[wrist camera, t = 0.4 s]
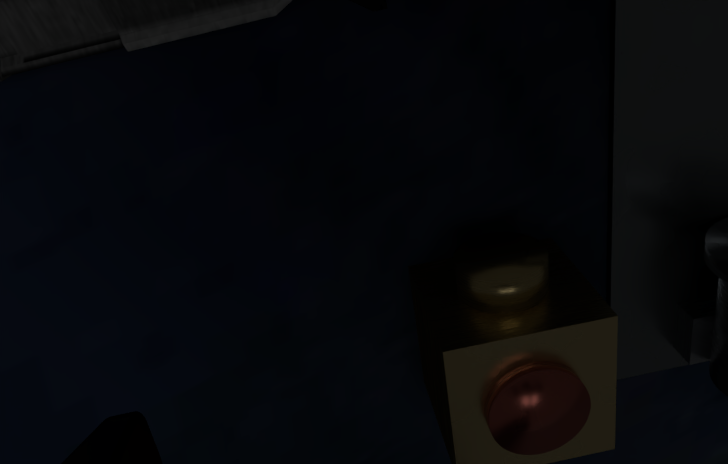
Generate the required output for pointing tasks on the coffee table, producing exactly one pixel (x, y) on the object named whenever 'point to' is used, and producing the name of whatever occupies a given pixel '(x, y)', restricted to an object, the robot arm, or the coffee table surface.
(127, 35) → the handgun
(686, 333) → the plate with two spools
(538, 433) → the brass valve
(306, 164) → the coffee table surface
